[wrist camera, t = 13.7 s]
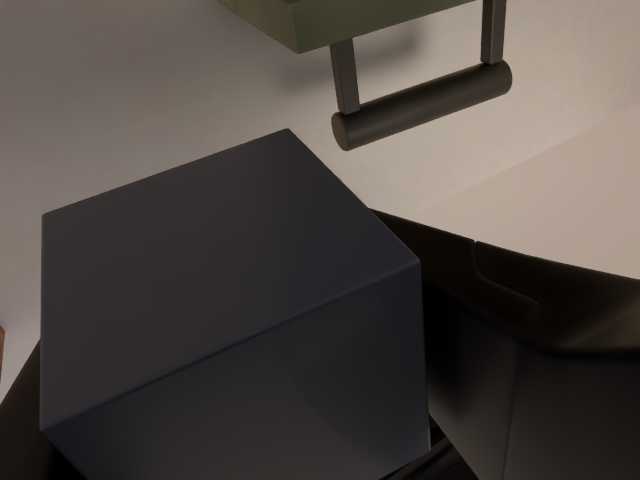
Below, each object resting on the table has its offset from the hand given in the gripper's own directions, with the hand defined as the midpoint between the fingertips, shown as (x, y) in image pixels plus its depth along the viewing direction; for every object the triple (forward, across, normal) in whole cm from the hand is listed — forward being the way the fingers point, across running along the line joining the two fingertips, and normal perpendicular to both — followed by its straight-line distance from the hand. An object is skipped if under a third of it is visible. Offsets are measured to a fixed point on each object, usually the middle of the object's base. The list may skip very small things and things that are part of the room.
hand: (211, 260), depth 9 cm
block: (0, 0, 0) cm, 0 cm away
